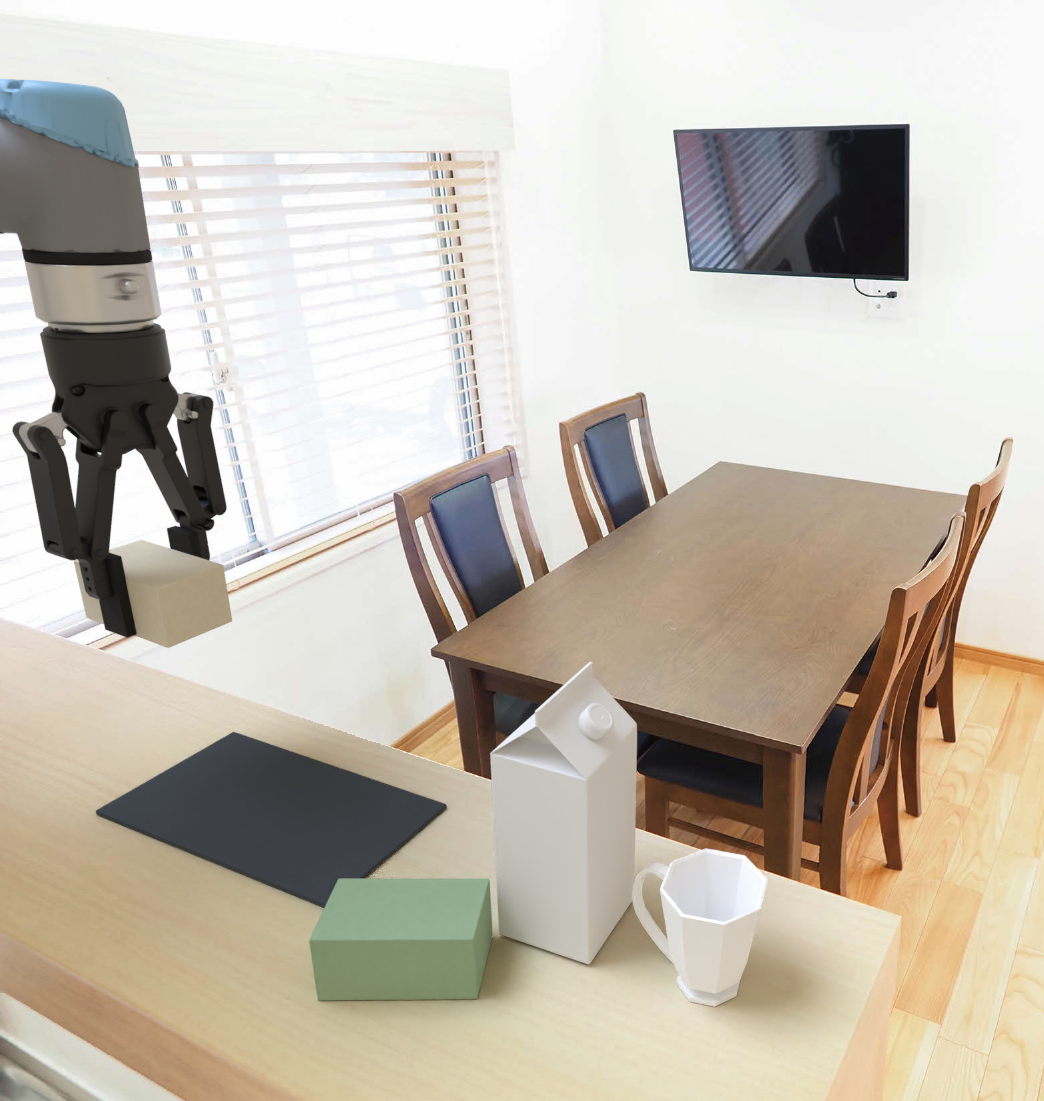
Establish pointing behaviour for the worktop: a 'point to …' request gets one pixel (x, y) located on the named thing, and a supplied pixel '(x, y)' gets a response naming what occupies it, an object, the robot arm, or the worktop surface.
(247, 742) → the mat
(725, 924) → the cup
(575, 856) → the milk carton
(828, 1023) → the worktop surface
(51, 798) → the worktop surface
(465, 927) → the green block
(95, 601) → the cream block
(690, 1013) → the worktop surface
